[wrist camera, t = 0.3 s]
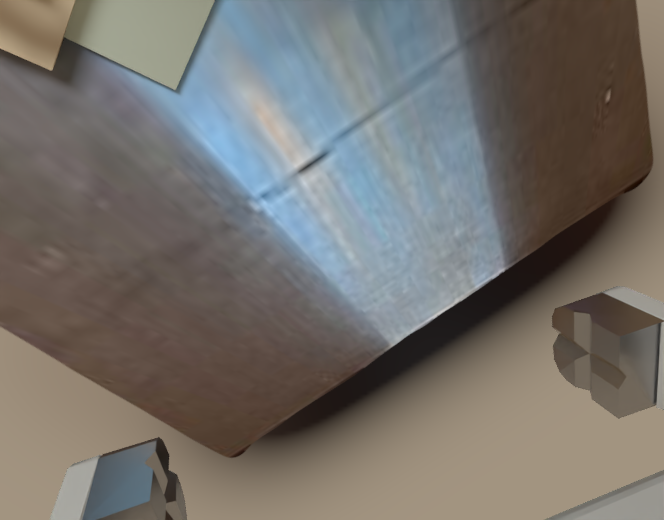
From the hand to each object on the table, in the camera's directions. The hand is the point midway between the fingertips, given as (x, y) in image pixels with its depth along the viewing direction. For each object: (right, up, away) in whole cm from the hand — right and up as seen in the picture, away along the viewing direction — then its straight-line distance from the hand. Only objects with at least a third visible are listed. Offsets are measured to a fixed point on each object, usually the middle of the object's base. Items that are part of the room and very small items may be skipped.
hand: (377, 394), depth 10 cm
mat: (-18, +29, +37) cm, 51 cm away
